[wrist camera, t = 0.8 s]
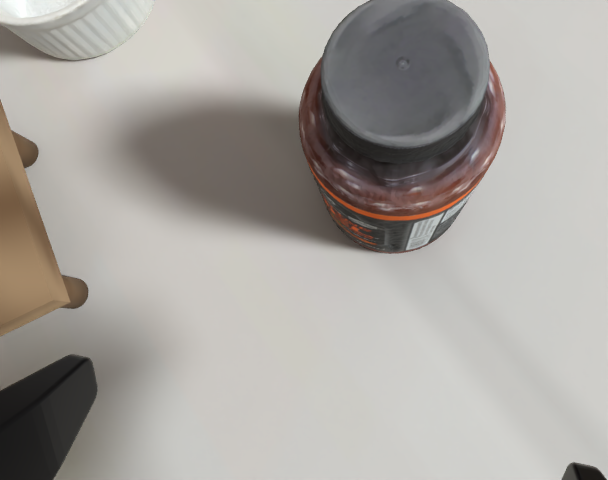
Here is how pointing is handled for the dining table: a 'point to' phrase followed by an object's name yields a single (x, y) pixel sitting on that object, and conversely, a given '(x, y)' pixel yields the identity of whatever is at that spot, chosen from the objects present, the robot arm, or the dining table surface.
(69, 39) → the ramekin
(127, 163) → the dining table surface
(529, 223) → the dining table surface
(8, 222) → the stool
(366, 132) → the supplement bottle
